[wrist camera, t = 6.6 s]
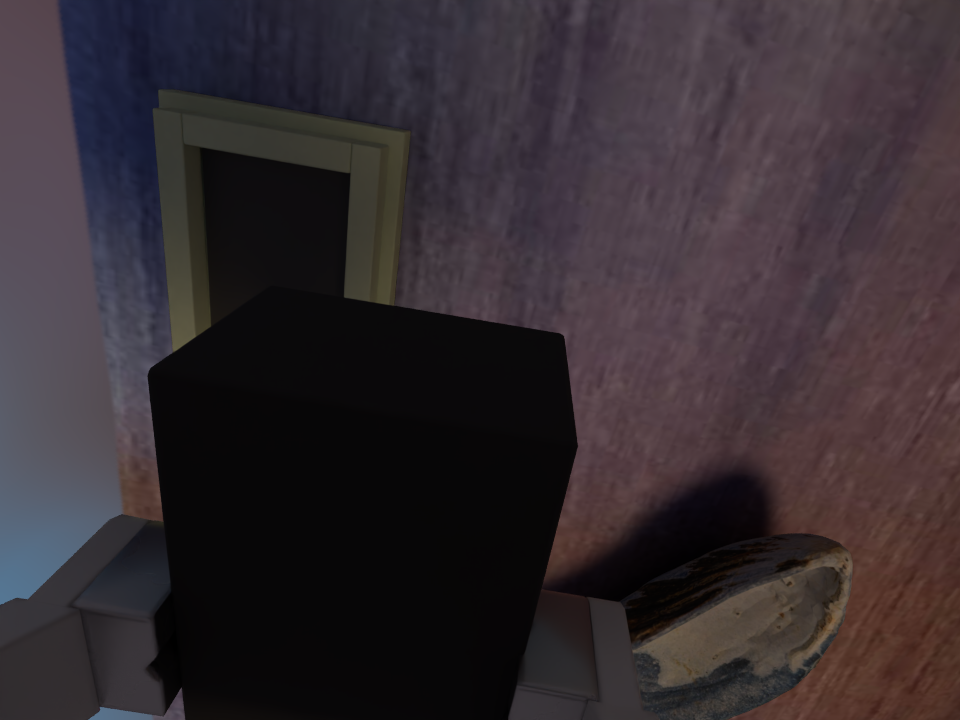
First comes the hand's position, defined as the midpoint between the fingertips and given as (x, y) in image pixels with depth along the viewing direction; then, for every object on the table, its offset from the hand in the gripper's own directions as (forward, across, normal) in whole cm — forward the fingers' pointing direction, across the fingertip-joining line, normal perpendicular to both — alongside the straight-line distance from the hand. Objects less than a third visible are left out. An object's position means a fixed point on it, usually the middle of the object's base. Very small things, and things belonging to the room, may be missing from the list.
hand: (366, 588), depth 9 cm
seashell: (+16, -12, +14) cm, 24 cm away
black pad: (+2, 0, 0) cm, 2 cm away
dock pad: (+16, +7, +1) cm, 18 cm away
